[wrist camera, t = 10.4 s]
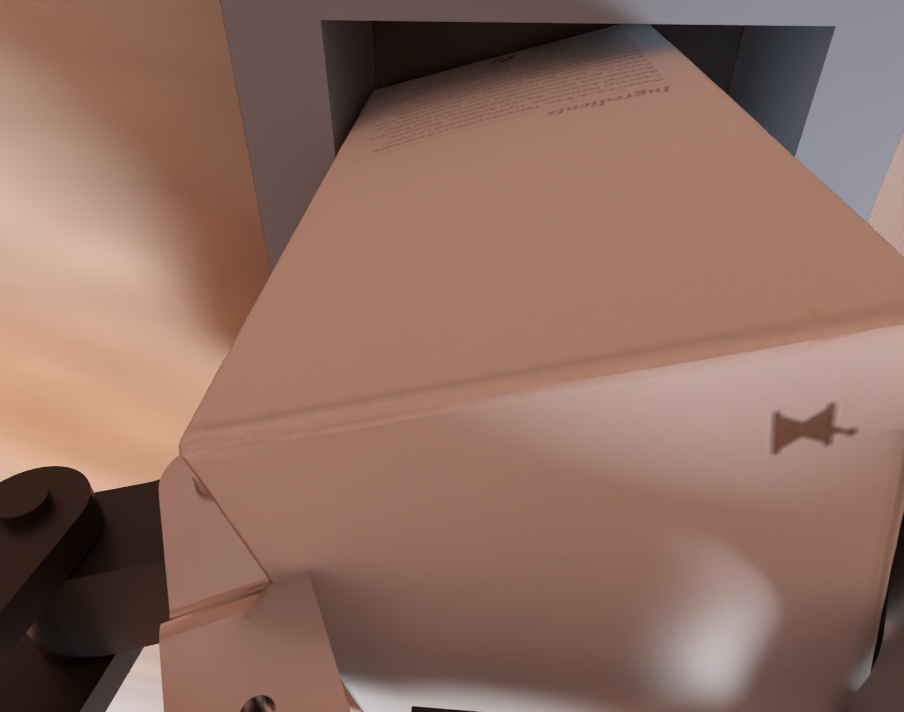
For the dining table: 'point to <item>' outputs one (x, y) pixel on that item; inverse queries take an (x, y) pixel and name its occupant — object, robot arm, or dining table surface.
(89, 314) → the dining table surface
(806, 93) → the port sleeve
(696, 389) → the small box
